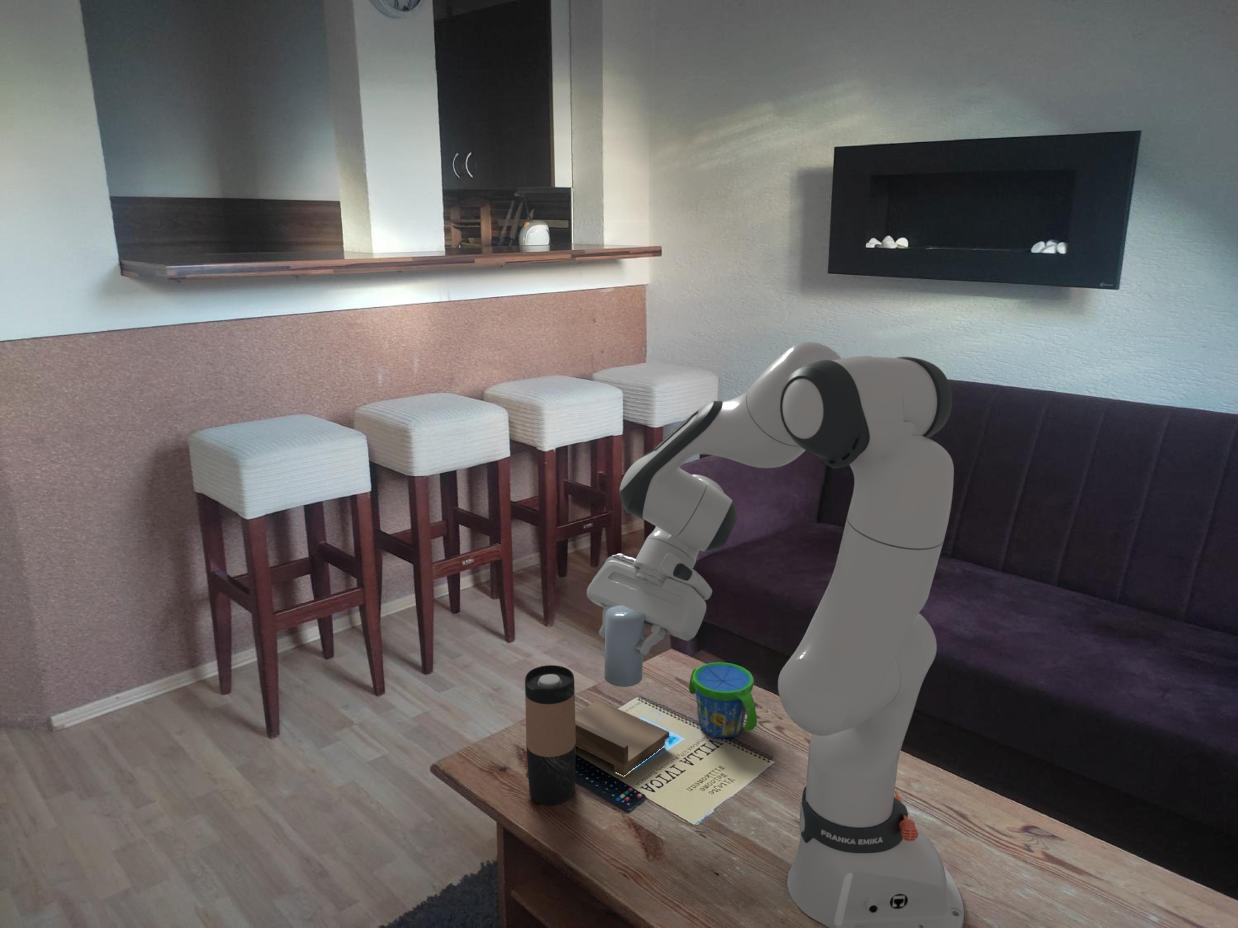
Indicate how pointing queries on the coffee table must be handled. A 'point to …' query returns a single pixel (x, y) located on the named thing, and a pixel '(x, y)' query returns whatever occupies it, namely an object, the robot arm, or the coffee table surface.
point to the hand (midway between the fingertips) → (621, 644)
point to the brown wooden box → (617, 736)
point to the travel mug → (550, 733)
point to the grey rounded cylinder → (623, 646)
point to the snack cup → (723, 698)
